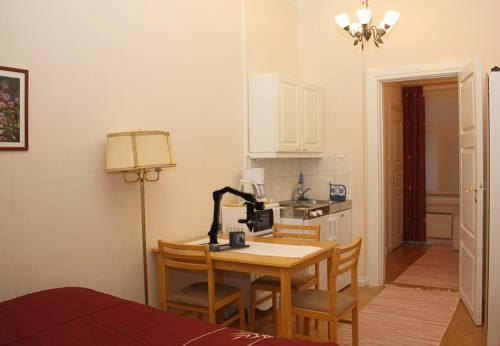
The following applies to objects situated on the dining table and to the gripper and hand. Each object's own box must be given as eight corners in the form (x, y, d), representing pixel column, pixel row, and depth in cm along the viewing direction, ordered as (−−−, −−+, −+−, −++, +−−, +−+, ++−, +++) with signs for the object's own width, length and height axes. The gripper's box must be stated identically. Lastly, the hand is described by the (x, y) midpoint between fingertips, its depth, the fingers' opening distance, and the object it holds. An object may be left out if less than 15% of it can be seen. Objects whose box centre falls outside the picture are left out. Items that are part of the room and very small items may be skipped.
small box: (231, 248, 329) (230, 233, 329) (228, 246, 336) (228, 231, 336) (245, 246, 332) (245, 232, 332) (243, 245, 339) (242, 230, 338)
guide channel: (205, 248, 329) (205, 244, 328) (238, 244, 343) (238, 240, 343) (216, 251, 316) (215, 247, 316) (249, 247, 331) (249, 242, 331)
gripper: (245, 212, 328) (246, 234, 329) (267, 210, 339) (267, 232, 339) (237, 211, 338) (237, 233, 338) (258, 209, 348) (259, 230, 348)
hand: (250, 232), depth 340 cm, fingers closed
